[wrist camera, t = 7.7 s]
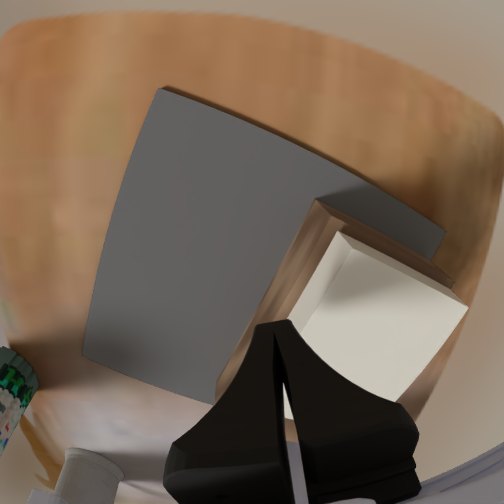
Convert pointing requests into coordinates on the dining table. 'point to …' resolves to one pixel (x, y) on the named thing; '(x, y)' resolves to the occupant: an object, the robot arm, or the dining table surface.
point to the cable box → (303, 267)
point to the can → (14, 391)
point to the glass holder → (88, 478)
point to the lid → (373, 317)
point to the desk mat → (212, 240)
